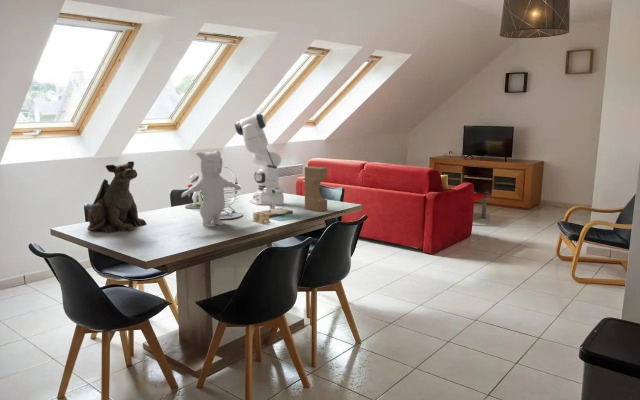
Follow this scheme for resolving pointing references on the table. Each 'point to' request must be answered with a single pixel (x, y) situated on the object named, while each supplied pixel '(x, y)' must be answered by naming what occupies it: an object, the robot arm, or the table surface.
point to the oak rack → (261, 217)
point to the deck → (276, 214)
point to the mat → (286, 217)
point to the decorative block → (314, 188)
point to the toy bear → (211, 188)
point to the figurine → (195, 194)
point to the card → (278, 211)
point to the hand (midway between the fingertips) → (272, 209)
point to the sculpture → (115, 202)
